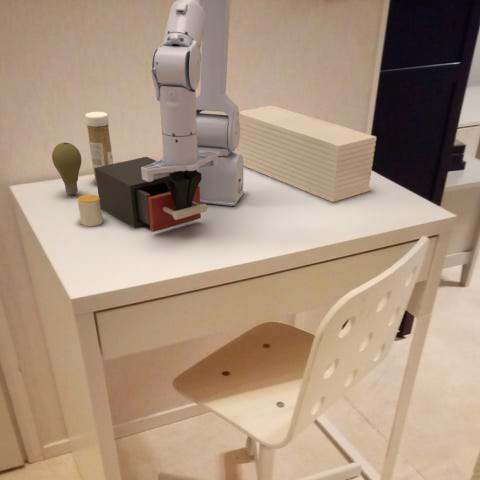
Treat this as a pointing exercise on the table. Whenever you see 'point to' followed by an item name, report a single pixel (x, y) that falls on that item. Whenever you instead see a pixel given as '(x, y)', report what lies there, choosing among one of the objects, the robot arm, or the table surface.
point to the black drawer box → (122, 188)
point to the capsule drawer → (164, 207)
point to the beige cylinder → (90, 210)
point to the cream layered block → (306, 152)
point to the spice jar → (99, 139)
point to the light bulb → (67, 165)
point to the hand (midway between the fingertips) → (183, 214)
